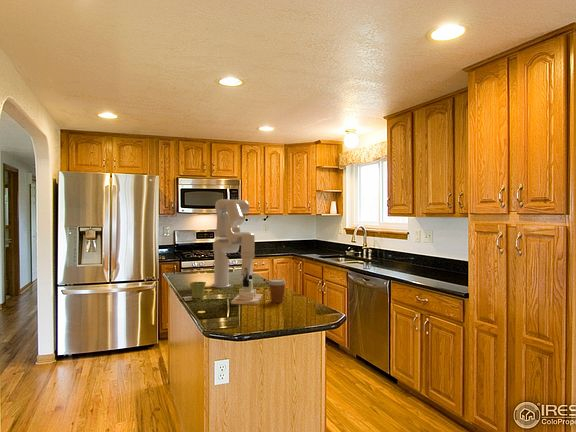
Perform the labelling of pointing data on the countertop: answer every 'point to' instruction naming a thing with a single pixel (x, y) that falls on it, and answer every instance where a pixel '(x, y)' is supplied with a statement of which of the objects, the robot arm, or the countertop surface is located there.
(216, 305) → the countertop surface
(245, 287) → the sage block
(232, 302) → the stack base
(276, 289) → the disposable coffee cup
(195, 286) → the plant pot
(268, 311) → the countertop surface
